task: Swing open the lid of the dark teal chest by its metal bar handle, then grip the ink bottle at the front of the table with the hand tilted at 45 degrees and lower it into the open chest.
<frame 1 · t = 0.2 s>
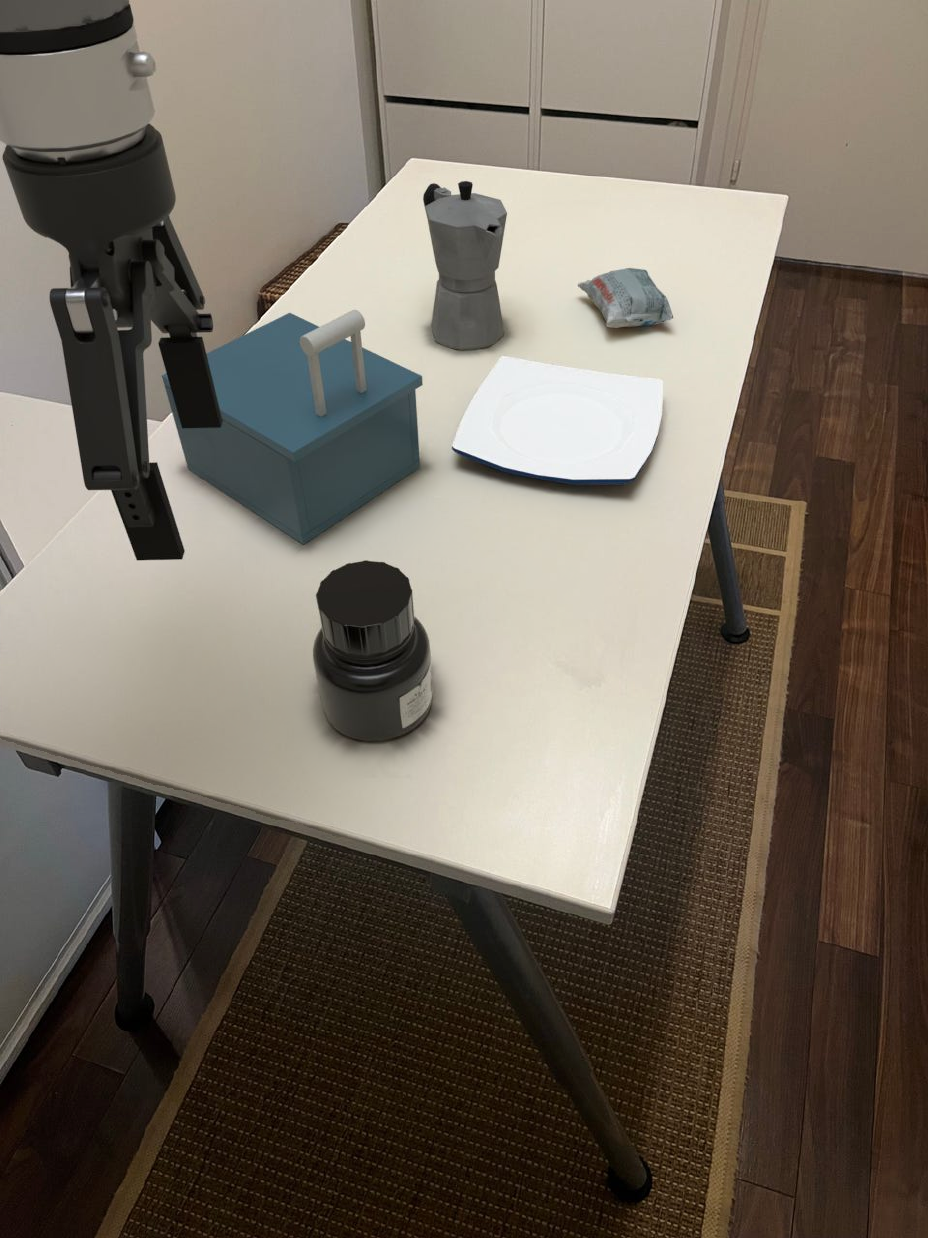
hand: (183, 485, 60), 21 cm above the table, tool pointing down, fingers open, 13 cm apart
packaged food: (621, 317, 117), on the table
chest: (304, 468, 96), on the table
lid: (285, 342, 85), point 14 cm above the table, hinge at 0.0°
ink bottle: (378, 701, 74), on the table
plate: (560, 435, 99), on the table
coffeepot: (463, 329, 115), on the table
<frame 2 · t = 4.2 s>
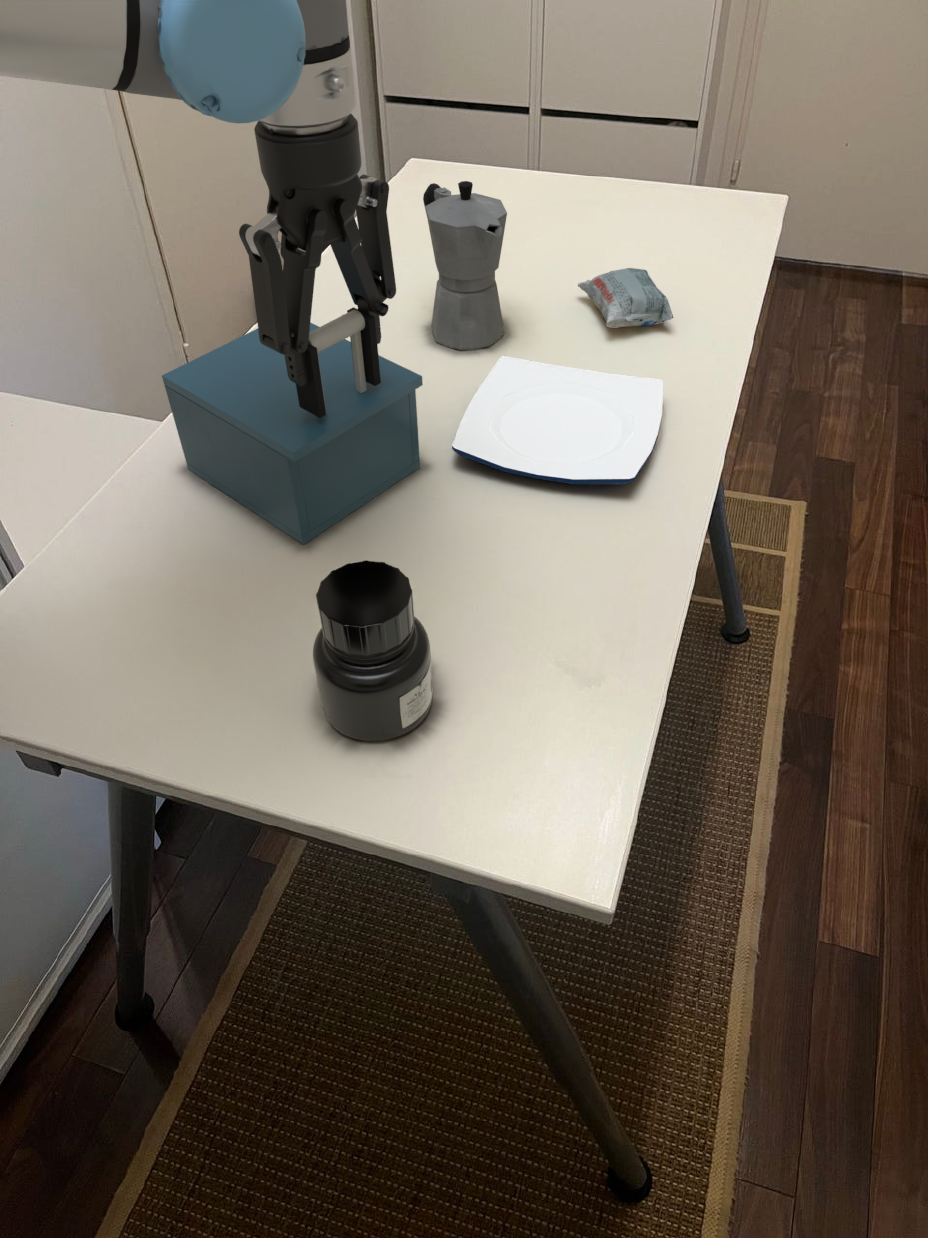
hand: (340, 394, 84), 12 cm above the table, tool pointing down, fingers closed on lid, 6 cm apart
lid: (285, 342, 85), point 14 cm above the table, hinge at 0.0°, touching gripper
everything else where it was.
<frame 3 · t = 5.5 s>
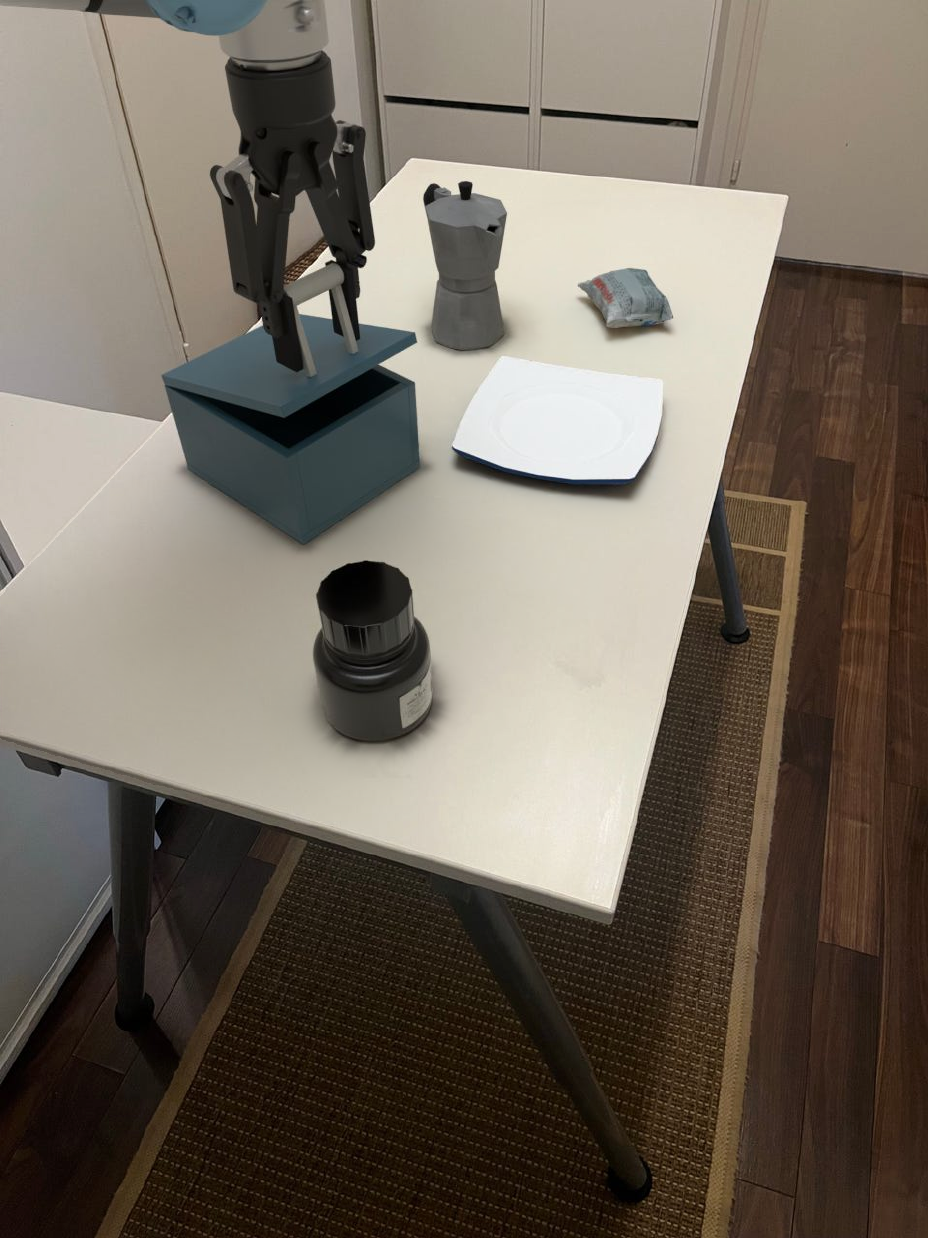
hand: (319, 349, 82), 16 cm above the table, tool pointing down, fingers closed on lid, 6 cm apart
lid: (274, 318, 84), point 16 cm above the table, hinge at 13.1°, touching gripper
everything else where it was.
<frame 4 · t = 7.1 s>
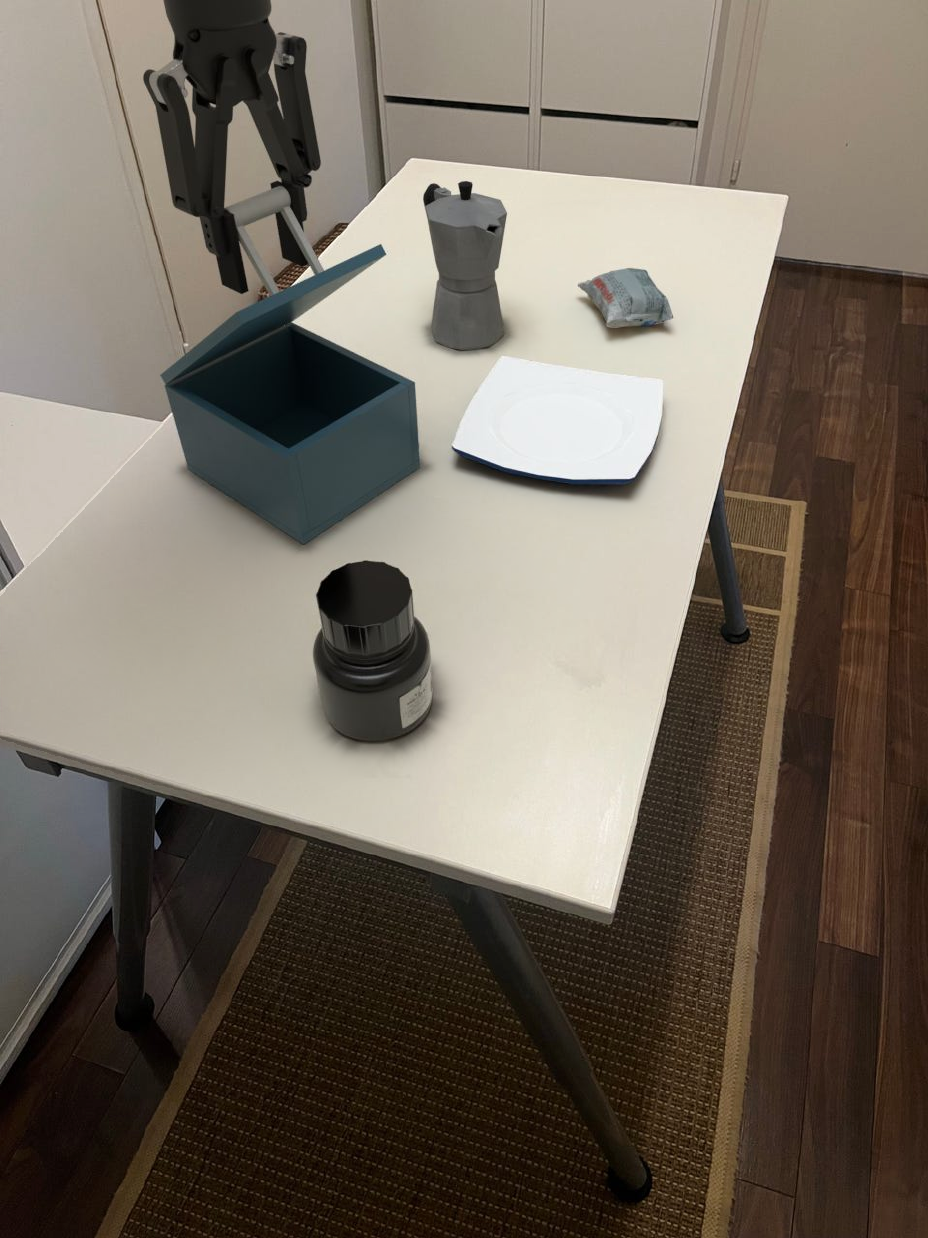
hand: (265, 273, 81), 21 cm above the table, tool pointing down, fingers closed on lid, 6 cm apart
lid: (245, 276, 83), point 19 cm above the table, hinge at 37.4°, touching gripper
everything else where it was.
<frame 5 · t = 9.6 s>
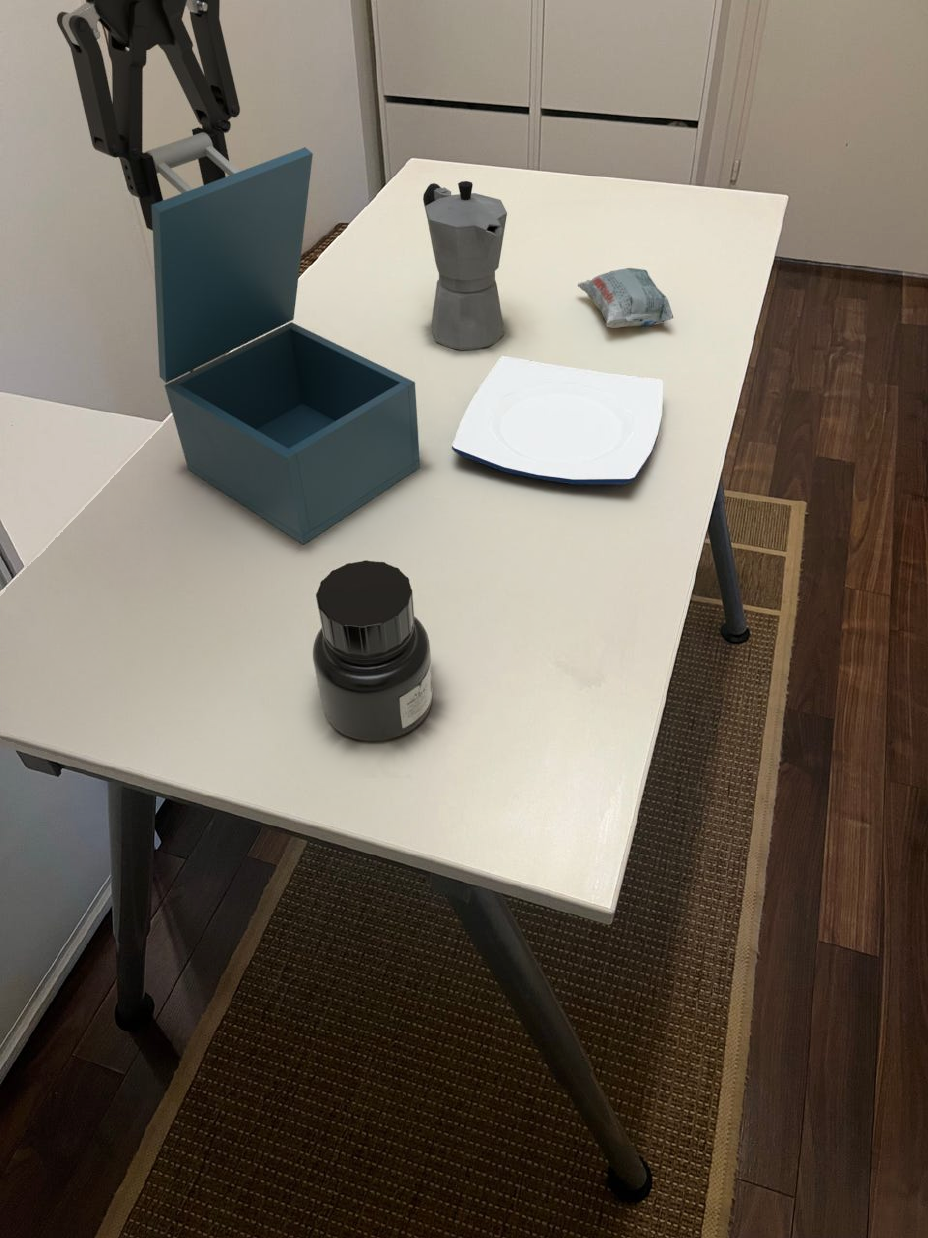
hand: (189, 217, 84), 23 cm above the table, tool pointing down, fingers open, 6 cm apart
lid: (204, 244, 85), point 21 cm above the table, hinge at 69.8°
everything else where it was.
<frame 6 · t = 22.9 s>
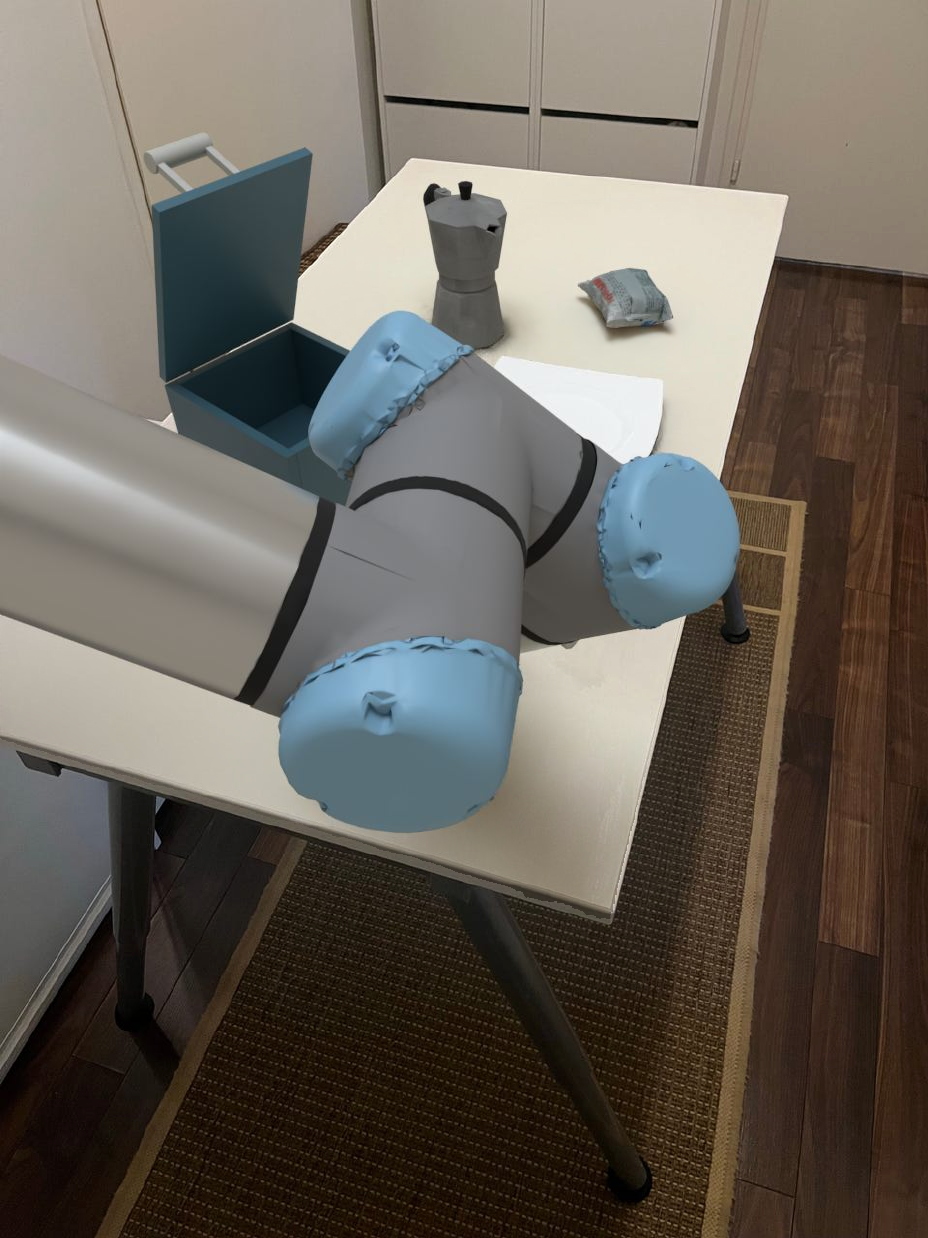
hand: (344, 644, 73), 4 cm above the table, tool tilted 45°, fingers closed on ink bottle, 9 cm apart
ink bottle: (378, 701, 74), on the table, touching gripper
everything else where it was.
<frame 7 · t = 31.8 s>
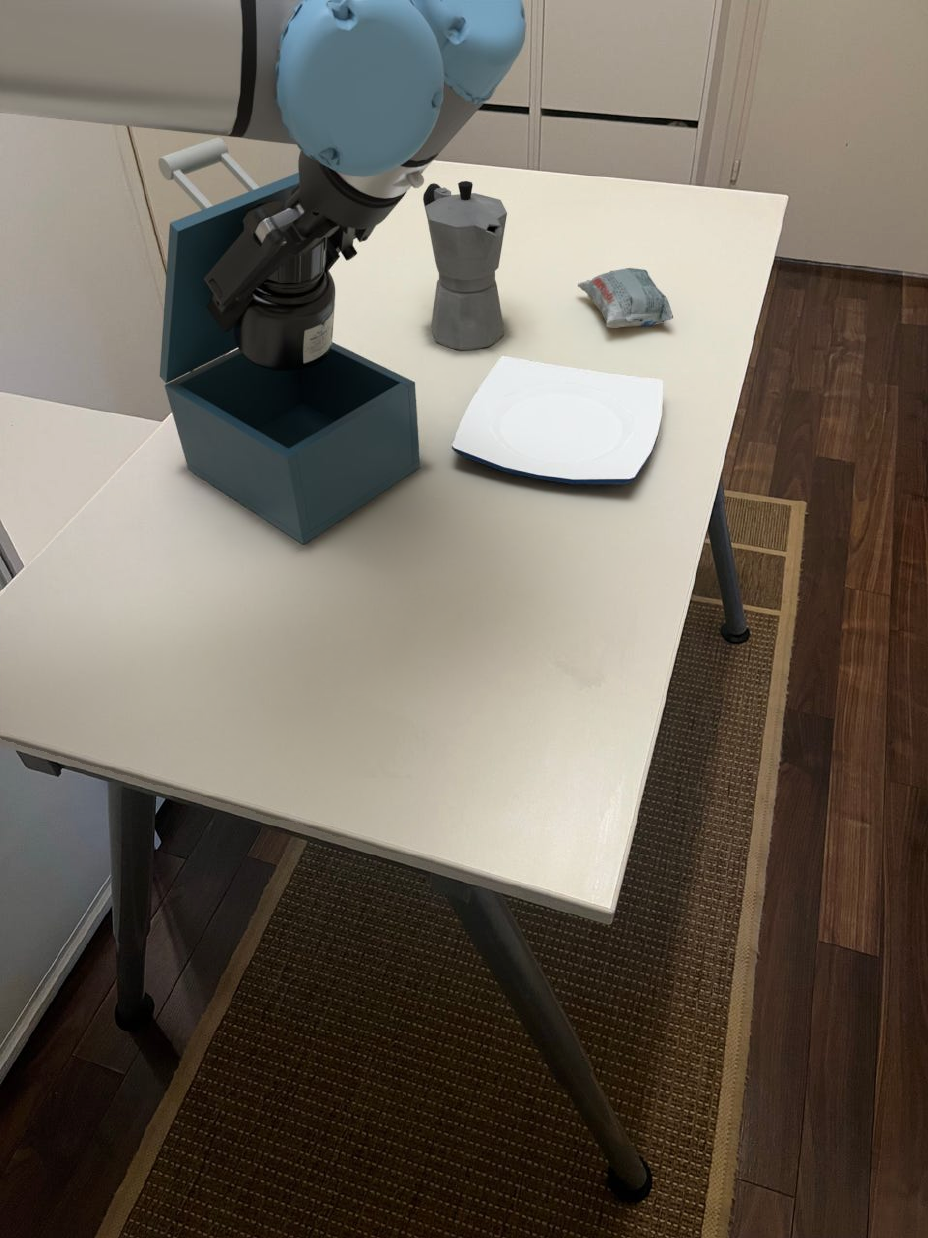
hand: (260, 297, 84), 18 cm above the table, tool tilted 45°, fingers closed on ink bottle, 9 cm apart
lid: (212, 248, 85), point 21 cm above the table, hinge at 63.1°
ink bottle: (283, 342, 85), point 14 cm above the table, touching gripper
everything else where it was.
when the fingers open (12 cm above the table, at t = 34.0 s): ink bottle drops 8 cm, resting on chest.
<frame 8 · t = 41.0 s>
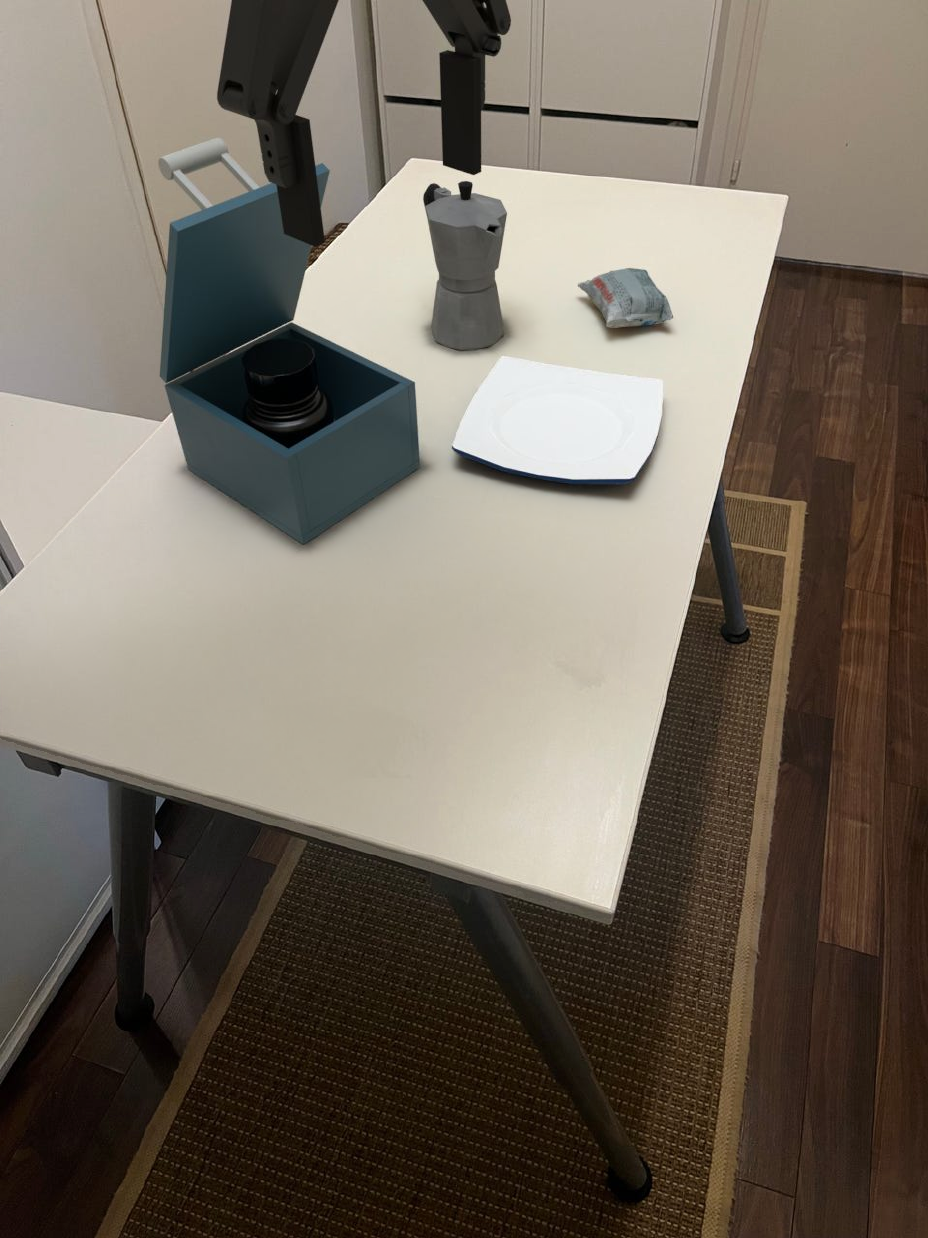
hand: (388, 201, 57), 35 cm above the table, tool pointing down, fingers open, 13 cm apart
ink bottle: (297, 463, 95), point 1 cm above the table, touching chest
everything else where it was.
at the end: lid at +63° (first picture: +0°); ink bottle inside the target area in the chest (0.7 cm from its centre), point 0.8 cm above the chest's base; the gripper is holding nothing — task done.
